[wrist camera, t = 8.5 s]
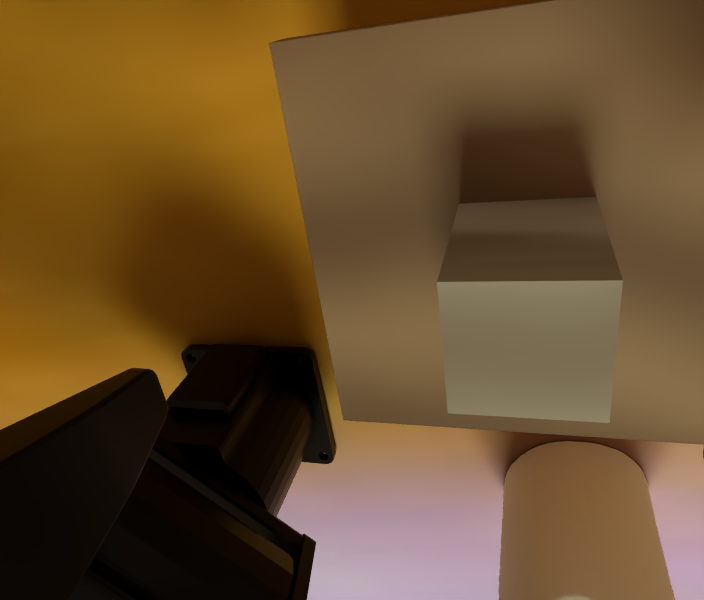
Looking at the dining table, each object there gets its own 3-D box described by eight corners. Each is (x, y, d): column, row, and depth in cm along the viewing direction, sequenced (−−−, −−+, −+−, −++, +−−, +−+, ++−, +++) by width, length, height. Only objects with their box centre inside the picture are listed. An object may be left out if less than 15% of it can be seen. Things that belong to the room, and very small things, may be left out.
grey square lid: (735, 421, 15) (814, 590, 11) (351, 399, 18) (301, 524, 14) (843, -46, 10) (1067, -58, 6) (284, 38, 13) (176, 69, 9)
